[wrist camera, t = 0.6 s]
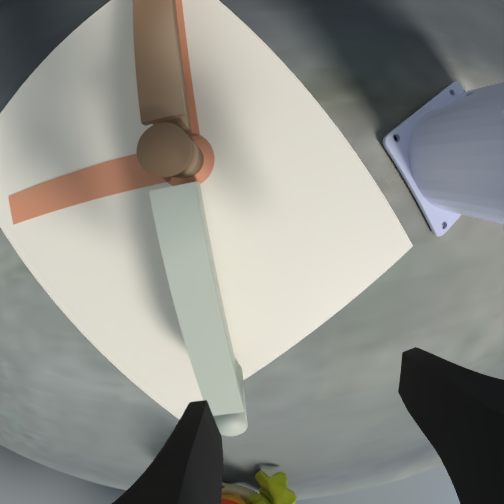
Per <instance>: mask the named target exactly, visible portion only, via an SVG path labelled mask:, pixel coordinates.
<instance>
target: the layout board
mask: <svg viewBox="0 0 504 504" xmlns="http://www.w3.org/2000/svg"><path fill="white" fill-rule="evenodd" d="M175 1H176V11H177V21H178V30H179V38H180V47H181V55H182V63H183V71H184V79H185V86H186V93H187V100H188V107H189V114H190V121H191V128H192V134H189V135H188V136H189V137H190V138H191V139H192V140H193V141H194V143H195V144H196V145H197V146H198V147H199V148H200V150H201V151H202V153H203V158H204V161H203V166H202V168H201V169H200V171H199V172H198V173H197V174H196V175H194V176H192V177H189V178H178V177H160V176H154V175H152V174H149V173H148V172H146V171H145V170H144V169H143V168H142V167H141V165H140V163H139V161H138V158H137V144H138V141H139V139H140V137H141V135H142V134H143V133H144V132H145V131H146V130H147V129H148V128H149V127H151V126H153V124H150V125H146V126H145V125H143V124H142V123H141V118H140V109H139V100H138V90H137V80H136V68H135V54H134V36H133V3H132V0H111V1H109V2H108V3H107V4H105V5H104V6H103V7H101V8H100V9H99V10H98V11H96V12H95V13H94V14H93V15H92V16H90V17H89V18H88V19H87V20H86V21H84V22H83V23H82V24H81V25H80V26H79V27H78V28H76V29H75V30H74V31H73V32H72V33H71V34H70V35H69V36H68V37H67V38H66V39H64V40H63V41H62V42H61V43H60V44H59V45H58V46H57V47H56V48H55V49H54V50H53V51H52V52H51V53H50V54H49V55H48V56H47V57H46V59H45V60H44V61H43V62H42V63H41V64H40V65H39V66H38V67H37V68H36V69H35V71H34V72H33V73H32V74H31V75H30V76H29V77H28V79H27V80H26V81H25V82H24V83H23V85H22V86H21V87H20V88H19V90H18V91H17V92H16V93H15V95H14V96H13V97H12V98H11V100H10V101H9V102H8V104H7V105H6V106H5V108H4V109H3V111H2V112H1V113H0V227H1V229H2V230H3V232H4V234H5V235H6V237H7V238H8V240H9V241H10V243H11V244H12V246H13V247H14V249H15V250H16V252H17V253H18V255H19V256H20V258H21V259H22V260H23V262H24V263H25V265H26V266H27V267H28V269H29V270H30V271H31V273H32V274H33V275H34V277H35V278H36V279H37V281H38V282H39V283H40V285H41V286H42V287H43V288H44V290H45V291H46V292H47V293H48V295H49V296H50V297H51V298H52V299H53V301H54V302H55V303H56V304H57V305H58V307H59V308H60V309H61V310H62V311H63V312H64V314H65V315H66V316H67V317H68V318H69V319H70V320H71V321H72V323H73V324H74V325H75V326H76V327H77V328H78V329H79V330H80V331H81V332H82V333H83V334H84V336H85V337H86V338H87V339H88V340H89V341H90V342H91V343H92V344H93V345H94V346H95V347H96V348H97V349H98V350H99V351H100V352H101V353H102V354H103V355H104V356H105V357H106V358H107V359H108V360H109V361H110V362H111V363H113V364H114V365H115V366H116V367H117V368H118V369H119V370H120V371H121V372H122V373H123V374H124V375H126V376H127V377H128V378H129V379H130V380H131V381H132V382H133V383H135V384H136V385H137V386H138V387H139V388H140V389H142V390H143V391H144V392H145V393H146V394H147V395H149V396H150V397H151V398H152V399H154V400H155V401H156V402H157V403H158V404H160V405H161V406H162V407H164V408H165V409H166V410H167V411H169V412H170V413H171V414H173V415H174V416H175V417H177V418H178V419H180V418H181V417H182V415H183V413H184V411H185V409H186V408H187V406H188V404H189V403H190V402H195V401H203V398H202V395H201V392H200V389H199V386H198V383H197V380H196V377H195V374H194V371H193V368H192V364H191V361H190V358H189V355H188V351H187V348H186V345H185V341H184V338H183V335H182V331H181V328H180V324H179V321H178V317H177V313H176V310H175V306H174V302H173V298H172V295H171V291H170V287H169V283H168V279H167V275H166V270H165V266H164V262H163V258H162V253H161V249H160V244H159V240H158V235H157V230H156V225H155V221H154V216H153V210H152V205H151V200H150V194H149V191H153V190H157V189H162V188H167V187H171V186H176V185H181V184H186V183H191V182H197V183H200V187H201V193H202V198H203V204H204V210H205V215H206V221H207V226H208V231H209V237H210V242H211V247H212V252H213V257H214V263H215V268H216V273H217V278H218V282H219V287H220V292H221V297H222V302H223V306H224V311H225V316H226V320H227V325H228V330H229V334H230V339H231V343H232V347H233V352H234V356H235V362H237V363H238V364H240V366H241V367H242V372H243V380H245V379H246V378H248V377H249V376H251V375H252V374H254V373H255V372H257V371H258V370H260V369H261V368H263V367H264V366H265V365H267V364H268V363H270V362H271V361H273V360H274V359H275V358H277V357H278V356H280V355H281V354H283V353H284V352H285V351H287V350H288V349H289V348H291V347H292V346H294V345H295V344H296V343H298V342H299V341H300V340H302V339H303V338H304V337H306V336H307V335H308V334H310V333H311V332H312V331H314V330H315V329H316V328H318V327H319V326H320V325H321V324H323V323H324V322H325V321H327V320H328V319H329V318H330V317H332V316H333V315H334V314H335V313H337V312H338V311H339V310H340V309H342V308H343V307H344V306H345V305H347V304H348V303H349V302H350V301H351V300H353V299H354V298H355V297H356V296H357V295H359V294H360V293H361V292H362V291H363V290H365V289H366V288H367V287H368V286H369V285H370V284H372V283H373V282H374V281H375V280H376V279H377V278H378V277H380V276H381V275H382V274H383V273H384V272H385V271H386V270H388V269H389V268H390V267H391V266H392V265H393V264H394V263H395V262H396V261H397V260H399V259H400V258H401V257H402V256H403V255H404V254H405V253H406V252H407V251H408V250H409V249H410V248H411V247H413V246H412V244H411V242H410V240H409V238H408V236H407V234H406V233H405V231H404V229H403V227H402V226H401V224H400V222H399V220H398V219H397V217H396V215H395V213H394V212H393V210H392V208H391V207H390V205H389V203H388V202H387V200H386V198H385V197H384V195H383V194H382V192H381V190H380V189H379V187H378V186H377V184H376V182H375V181H374V179H373V178H372V176H371V175H370V173H369V172H368V170H367V169H366V167H365V166H364V164H363V163H362V161H361V160H360V158H359V157H358V156H357V154H356V153H355V151H354V150H353V148H352V147H351V146H350V144H349V143H348V141H347V140H346V139H345V137H344V136H343V135H342V133H341V132H340V131H339V129H338V128H337V127H336V125H335V124H334V123H333V121H332V120H331V119H330V117H329V116H328V115H327V114H326V112H325V111H324V110H323V109H322V107H321V106H320V105H319V104H318V102H317V101H316V100H315V99H314V97H313V96H312V95H311V94H310V93H309V91H308V90H307V89H306V88H305V87H304V86H303V84H302V83H301V82H300V81H299V80H298V79H297V77H296V76H295V75H294V74H293V73H292V72H291V71H290V70H289V69H288V67H287V66H286V65H285V64H284V63H283V62H282V61H281V60H280V59H279V58H278V57H277V56H276V54H275V53H274V52H273V51H272V50H271V49H270V48H269V47H268V46H267V45H266V44H265V43H264V42H263V41H262V40H261V39H260V38H259V37H258V36H257V35H256V34H255V33H254V32H253V31H252V30H251V29H250V28H249V27H248V26H247V25H245V24H244V23H243V22H242V21H241V20H240V19H239V18H238V17H237V16H236V15H235V14H234V13H232V12H231V11H230V10H229V9H228V8H227V7H226V6H225V5H223V4H222V3H221V2H220V1H219V0H175Z"/></svg>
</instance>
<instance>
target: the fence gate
mask: <svg viewBox="0 0 504 504" xmlns="http://www.w3.org/2000/svg"><path fill="white" fill-rule="evenodd" d="M149 194H150V200H151V205H152V210H153V216H154V221H155V225H156V230H157V235H158V240H159V244H160V249H161V253H162V258H163V262H164V266H165V270H166V275H167V279H168V283H169V287H170V291H171V295H172V298H173V302H174V306H175V310H176V313H177V317H178V321H179V324H180V328H181V331H182V335H183V338H184V341H185V345H186V348H187V351H188V355H189V358H190V361H191V364H192V368H193V371H194V374H195V377H196V380H197V383H198V386H199V389H200V392H201V395H202V398H203V400H207V402H208V404H209V407H210V409H211V412H212V414H213V417H214V419H215V422H216V424H217V427H218V429H219V432H220V434H221V435H225V436H236V435H239V434H241V433H243V432H244V431H245V430H246V429H247V414H246V404H245V393H244V383H243V372H242V367H241V366H240V364H238V363H237V362H235V356H234V352H233V347H232V343H231V339H230V334H229V330H228V325H227V320H226V316H225V311H224V306H223V302H222V297H221V292H220V287H219V282H218V278H217V273H216V268H215V263H214V257H213V252H212V247H211V242H210V237H209V231H208V226H207V221H206V215H205V210H204V204H203V198H202V193H201V187H200V183H197V182H191V183H186V184H181V185H176V186H171V187H167V188H162V189H157V190H153V191H149Z"/></svg>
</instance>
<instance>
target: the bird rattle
mask: <svg viewBox="0 0 504 504" xmlns="http://www.w3.org/2000/svg"><path fill="white" fill-rule="evenodd" d="M255 478H256V480H257V481H258V483H259V485H260V486H261V488H259V492H260V494H258V493H257V492H255V491H253V490H251V489H248V488H246V487H243V486H239V485H233V484H226V483H224V482H222V496H221V504H294V503H295V502H296V498H297V497H296V495H295V493H294V492H293V491H291V490H289V489H287V477H286V474H285V473H283V472H278V473H276V474H274V475H273V476H272V477H268V476H267V475H266V474H265V473H264V472H263V471H261V470H260V471H258V472H257V473H256V475H255Z"/></svg>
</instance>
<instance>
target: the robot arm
mask: <svg viewBox="0 0 504 504" xmlns="http://www.w3.org/2000/svg"><path fill="white" fill-rule="evenodd" d="M450 92H451V93H450ZM451 94H452V95H451ZM394 135H395V136H396V137H397V141H396V142H395V141H394V138H393V136H394ZM383 145H384V147H385V149H386V150H387V152H388V154H389V155H390V157H391V158H392V160H393V161H394V163H395V165H396V166H397V168H398V170H399V171H400V173H401V175H402V176H403V178H404V180H405V181H406V183H407V185H408V187H409V188H410V190H411V192H412V194H413V195H414V197H415V199H416V201H417V203H418V205H419V206H420V208H421V210H422V212H423V214H424V216H425V218H426V220H427V222H428V224H429V226H430V228H431V230H432V232H433V234H434V235H435V236H438V237H440V236H442V235H443V234H444V233H445V232H446V231H447V230H448V229H449V228H450V227H451V226H452V225H453V224H454V223H455V221H456V220H457V219H458V218H459V217H460V216H461V215H466V216H471V217H475V218H480V219H484V220H488V221H492V222H496V223H500V224H504V82H503V83H499V84H495V85H490V86H486V87H482V88H478V89H475V90H471V91H467V92H465V91H464V89H463V88H462V86H461V85H460V83H458V82H453V83H451V84H450V85H449V86H448V87H446V88H445V89H444V90H443V91H441V92H440V93H439V94H437V95H436V96H435V97H434V98H432V99H431V100H430V101H429V102H427V103H426V104H425V105H423V106H422V107H421V108H420V109H418V110H417V111H416V112H415V113H413V114H412V115H411V116H410V117H408V118H407V119H406V120H404V121H403V122H402V123H401V124H399V125H398V126H397V127H396V128H394V129H393V130H392V131H391V132H389V133H388V134H387V135H386V136H385V137H384V138H383ZM443 222H444V226H443V228H442V223H443ZM398 392H399V394H400V396H401V398H402V400H403V402H404V404H405V406H406V408H407V410H408V412H409V413H410V415H411V416H412V417H413V419H414V420H415V422H416V423H417V425H418V426H419V427H420V429H421V430H422V432H423V433H424V434H425V436H426V437H427V438H428V440H429V441H430V443H431V444H432V445H433V447H434V448H435V450H436V451H437V453H438V455H439V456H440V458H441V460H442V462H443V464H444V466H445V468H446V470H447V472H448V474H449V476H450V478H451V480H452V483H453V485H454V488H455V490H456V493H457V495H458V498H459V501H460V504H504V380H502V379H497V378H493V377H490V376H486V375H483V374H480V373H477V372H474V371H472V370H469V369H466V368H464V367H461V366H459V365H456V364H454V363H452V362H449V361H447V360H445V359H442V358H440V357H438V356H436V355H433V354H431V353H429V352H426V351H424V350H422V349H419V348H416V347H415V348H413V349H410V350H408V351H405V352H403V353H402V365H401V374H400V383H399V391H398ZM222 477H223V449H222V438H221V434H220V432H219V429H218V427H217V424H216V422H215V419H214V417H213V414H212V412H211V409H210V407H209V404H208V402H207V400H203V401H195V402H190V403H189V404H188V406H187V408H186V409H185V411H184V413H183V415H182V417H181V418H180V420H179V422H178V424H177V425H176V427H175V429H174V431H173V432H172V434H171V435H170V437H169V439H168V440H167V442H166V443H165V445H164V446H163V448H162V449H161V451H160V452H159V454H158V455H157V456H156V458H155V459H154V460H153V462H152V463H151V464H150V466H149V467H148V468H147V469H146V471H145V472H144V473H143V474H142V475H141V476H140V478H139V479H138V480H137V481H136V482H135V483H134V484H133V485H132V486H131V487H130V488H129V489H128V490H127V491H126V492H125V493H124V494H123V495H122V496H120V497H119V498H118V499H117V500H116V501H115V502H114V503H112V504H221V496H222Z"/></svg>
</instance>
